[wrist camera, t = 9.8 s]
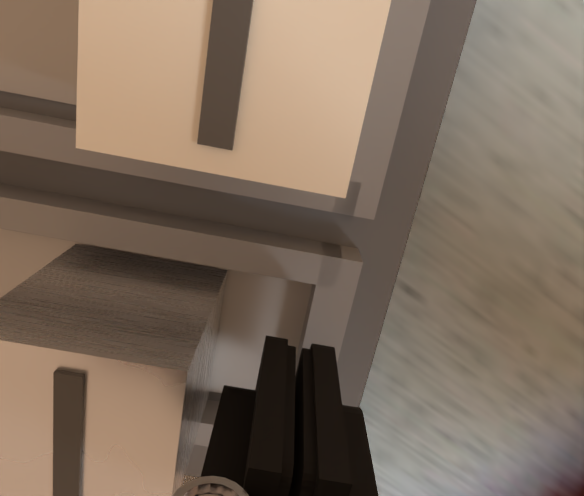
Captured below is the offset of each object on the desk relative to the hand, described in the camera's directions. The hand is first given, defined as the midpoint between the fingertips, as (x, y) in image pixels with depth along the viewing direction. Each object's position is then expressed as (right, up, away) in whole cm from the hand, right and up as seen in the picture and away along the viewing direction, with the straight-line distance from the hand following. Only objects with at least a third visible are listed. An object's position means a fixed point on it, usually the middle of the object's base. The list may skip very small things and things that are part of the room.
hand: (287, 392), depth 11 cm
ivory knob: (-1, +8, -1) cm, 8 cm away
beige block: (-4, +1, +2) cm, 4 cm away
